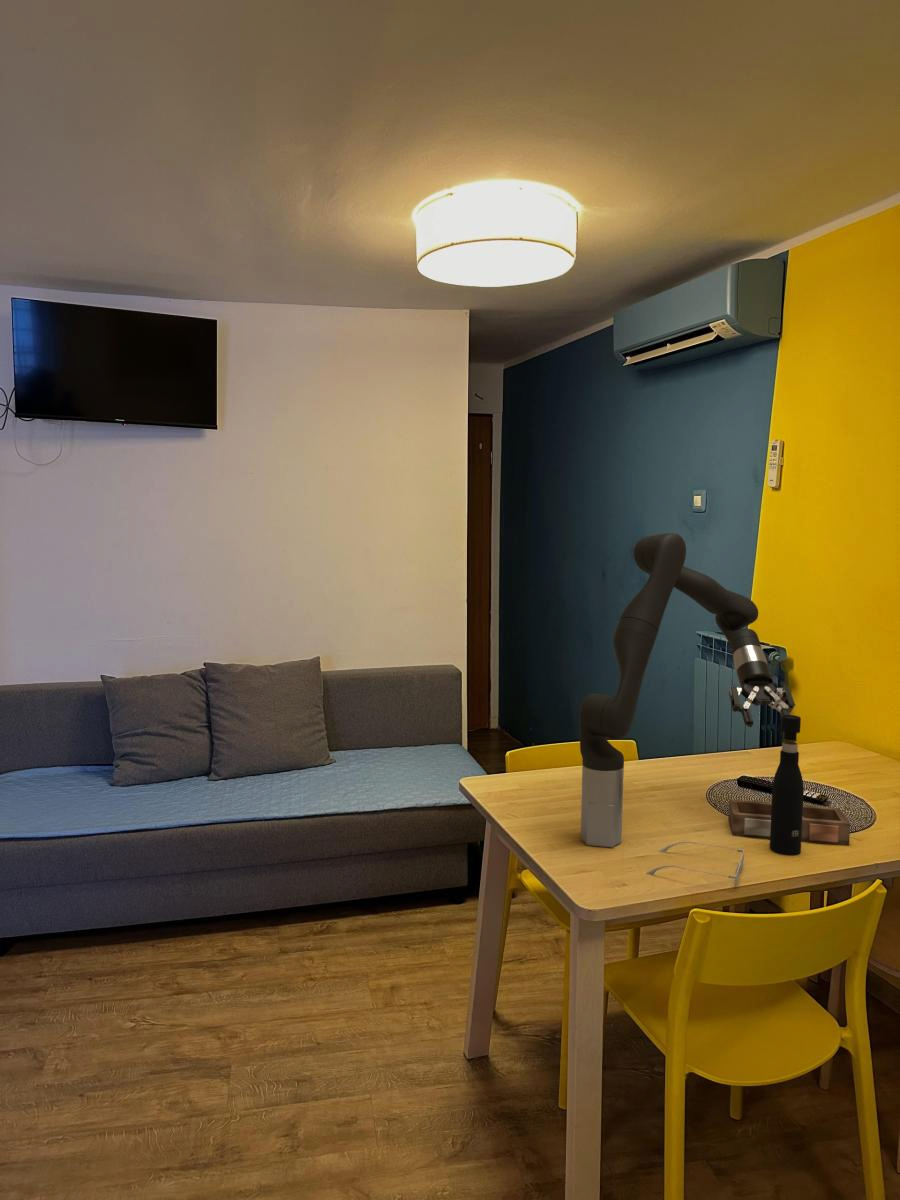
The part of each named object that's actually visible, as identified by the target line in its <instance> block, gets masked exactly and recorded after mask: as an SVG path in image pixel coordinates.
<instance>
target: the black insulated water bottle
mask: <svg viewBox="0 0 900 1200" xmlns="http://www.w3.org/2000/svg"><path fill="white" fill-rule="evenodd" d="M801 719H802V717H801V716H798V715H794V714H790V715H783V716H782V720H781V723H780V724H781V726H780V730H781V732H783V733H784V734H783V735H784V737H783V741H782V743H781V750H780V752H779V753H780V754H779V764H778V766H777V769H776V771H775V773H774V776H773V777H774V778H773V782H772V790H771V803H772V807H771V829H770V839H769V849H770V850H771V851H772V852H773V853H776V854H779V855H784V856H797V855H800V854H801V852H802V841H801V837H802V816H803V805H804V794H805V793H804V790H805V786H804V780H803V775H802V773H801V772H802V771H801V768H800V766H799V760H800V759H799V757H800V752H798V750H799V749H798V747H799V745H798V743H797V734H800V733H801V724H802V723H801Z"/></svg>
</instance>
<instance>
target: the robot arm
mask: <svg viewBox="0 0 900 1200" xmlns="http://www.w3.org/2000/svg"><path fill="white" fill-rule="evenodd" d="M686 556H687V546H686V542H685V540H684V538H683V537H682V536H681V535H680V534H679V533H674V532H666V533H664V532H663V533H660V534H654V535H649V536H645V537H642V538H641V539H639V540H638V541H637V542H636V543H635V546H634V549H633V559H634V562H635V563H636V566H637V567H638V568H639V569H640V570H641V571H642V572H644V573H646V574H648V575H649V577H648V578H647V581H646V582H645V584H644V585H643V587H642V588H641V590H639V592H638V593H636V595H635V596H634V597H633V598H632V599H631V600H630V601H629V603H628V604H627V605H626V607H625V608H624V609H623V611H622V613H621V614H620V617H619V619H618V623H617V625H616V628H615V632H614V636H613V640H612V641H613V648H614V653H615V657H616V660H617V664H618V668H619V683H618V688H617V691H616V693H615V696H613V695H608V694H604V693H603V694H602V693H595V692H594V693H593V692H592V693H590V694H587V695H586V696H585V697H584V699H583V700H582V703H581V706H580V710H579V720H578V721H579V751H580V755H581V758H582V762H581V763H582V764H581V765H582V769H581V770H582V772H581V773H582V774H581V806H580V807H581V809H580V840H581V841H582V842H583V843H585V845H587V846H595V847H604V848H605V847H606V848H615V846H618V845H619V844H621V843H622V841H623V840H622V839H623V811H624V810H623V806H624V805H623V803H624V799H623V798H624V776H625V775H624V769H625V767H624V766H625V757H624V754H623V753H622V752H621V751H620V750H619V749H617V748H615V747H614V746H613V745H612V744H611V743H610V741H609V740H608V739H607V738H610V739H615V740H622V739H624V738H625V737H626V736H627V735H628V733H629V732H630V730H631V728H632V726H633V722H634V718H635V714H636V710H637V706H638V701H639V698H640V693H641V687H642V683H643V681H644V680H643V679H644V676H645V673H646V670H647V666H648V663H649V660H650V657H651V654H652V651H653V649H654V646H655V644H656V640H657V638H658V637H657V636H658V634H659V630H660V627H661V623H662V620H663V617H664V613H665V611H666V608H667V605H668V603H669V600H670V597H671V595H672V591H673V590H674V588H675V589H676V590H678V591H679V592H680V593H683V594H685V595H686V596H688V597H689V598H690V599H692V600H693V601H694V602H695V603H697V605H698V604H699V606H700V607H702V608H703V609H704V610H706V611H707V612H708V613H710V614H711V615H715V619H714V620H715V623H716V625H717V627H718V628H719V630H720V631H721V632H722V634H723V635H724V636H725V638H726V640H727V643H728V644H729V646H730V650H731V654H732V658H733V665H734V670H735V672H736V674H737V675H736V676H737V679H738V682H739V686H740V687H738V686H737V685H735V684H733V685H731V688H730V689H729V690H728V694H729V700H730V705H731V710H732V712H736V713H738V712H739V713H741V716H742V718H743V723H744V724H745V725H746V726H747V727H748V728H752V727H753V726H754V719H753V715H752V712H751V709H750V706H751V705H752V704H753V705H754V706H755V707H756V706H757V707H758V706H769V707H770V708H772V709H773V710H776V711H777V712H779V713H780V714H779V716H780V721H782V716H783V715H791V714H790V713H791V712H792V711H793V709H794V708H795V706H796V703H795V701H794V698H793V696H792V693H791V689H790V688H789V686H788V685H783V687H776V685H775V684H774V681H773V676H772V673H771V670H770V667H769V663H768V661H767V658H766V655H765V653H764V652H763V648H762V645H761V642H760V639H759V636H758V633H757V632H756V631H755V630H754V629H751V628H746V627H748V626H749V625H751V624H753V623H755V622H756V621H757V620H758V617H759V609H758V606H757V605H756V604H755V603H754V601H753V600H752V599H750V598H748V597H747V596H744V595H743V594H740V593H736V592H734V591H732V590H728V589H727V588H725V587H723V586H722V585H721V584H720V583H719V582H718V581H717V580H715V579H714V578H712V577H710V576H708V575H707V574H704V573H702V572H699V571H697V570H694V569H692V568H689V567H687V566H685V565H684V564H685V561H686ZM740 695H742V696H743V697H744V698H745V699H746V701H744V704H741V701H740ZM773 700H774V701H773Z"/></svg>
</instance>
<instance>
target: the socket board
mask: <svg viewBox="0 0 900 1200" xmlns="http://www.w3.org/2000/svg"><path fill="white" fill-rule="evenodd" d="M771 807H772V802H767V801H766V802H764V801H754V800H753V801H752V800H742V799H741V800H739V799H728V815H727V816H728V823H729V827H730V831H731V834H732V835H731V836H736V837H737V836H738V837H747V838H759V839H760V838H761V839H769V840H770V829H771ZM850 833H851V823H850V821H849V820H848V818H847V817H846V815H845V814H844V813H843V811H842V809H841V808H839V807H830V806H818V805H816V806H815V805H805V804H803V816H802V837H801V842H806V843H817V844H826V845H827V844H829V845H837V846H838V845H840V846H850V838H851V837H850V835H851V834H850Z"/></svg>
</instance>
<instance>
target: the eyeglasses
mask: <svg viewBox="0 0 900 1200" xmlns="http://www.w3.org/2000/svg"><path fill="white" fill-rule="evenodd" d="M680 844H694V845H696V844H698V845H704V846H709V847H716V848H721V849H728V850H732V851H736V852H737V853H742V855H741V858H740V860H739V861H740V862H738V863H737V866H736V869H735V874H734V875H730V874H728V875H724V874H719V873H715V875H716V876H722V877H727V878H729V879H732V880H733V879H734V888H735V889H736V888H738V887H737V886H738V883H739V880H740V874H742V870H743V867H744V862H745V861H744V860H745V850H744V849H739V848H737V849H735V848H734V849H733V848H729V847H728V848H727V847H723V846H719V845H718V846H716V845H712V844H711V845H710V844H705V843H699V842H693V841H680V842H676V843H672V844H670V845H667V846H665V847H663V848H661V849H659V850H658V853H666V852H667V851H668V850H669V849H670V848H672V847H674V846H676V845H680ZM664 868H665V869H666V868H678V869H683V870H688V871H694V872H700V873H705V874H712V875H714V873H712V872H706V871H702V870H701V871H700V870H696V869H691V868H687V867H681V866H676V865H663V866H659V867H655V868H652V869H650V870H648V871H646V872H645V874H646V875H649V876H653V875H655V873H656V872H657V871H659V870H662V869H664Z"/></svg>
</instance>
